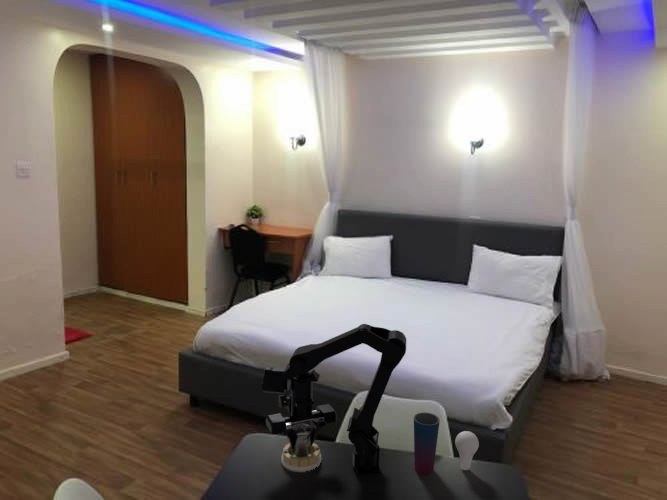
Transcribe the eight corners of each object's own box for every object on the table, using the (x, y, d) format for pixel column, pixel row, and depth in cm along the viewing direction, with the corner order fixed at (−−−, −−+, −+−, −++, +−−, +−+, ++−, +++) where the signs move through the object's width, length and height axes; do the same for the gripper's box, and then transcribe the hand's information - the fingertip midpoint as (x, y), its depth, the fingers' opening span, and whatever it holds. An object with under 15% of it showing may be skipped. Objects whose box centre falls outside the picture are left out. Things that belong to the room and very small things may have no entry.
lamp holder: (317, 447, 160) (317, 436, 159) (324, 470, 149) (324, 457, 149) (279, 451, 158) (279, 439, 157) (283, 474, 147) (283, 462, 146)
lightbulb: (477, 477, 147) (480, 439, 145) (453, 474, 148) (456, 437, 146) (476, 464, 153) (478, 428, 150) (453, 461, 154) (455, 425, 152)
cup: (416, 478, 146) (419, 426, 143) (407, 463, 153) (410, 413, 150) (440, 475, 148) (443, 423, 145) (431, 461, 154) (433, 411, 151)
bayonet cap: (314, 455, 151) (315, 432, 150) (296, 460, 149) (296, 436, 148) (306, 444, 157) (306, 421, 155) (288, 448, 155) (288, 425, 153)
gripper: (322, 376, 160) (322, 426, 163) (259, 387, 153) (260, 439, 156) (338, 393, 150) (337, 445, 153) (271, 405, 143) (272, 460, 146)
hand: (301, 446), depth 153 cm, fingers closed on bayonet cap, 5 cm apart
